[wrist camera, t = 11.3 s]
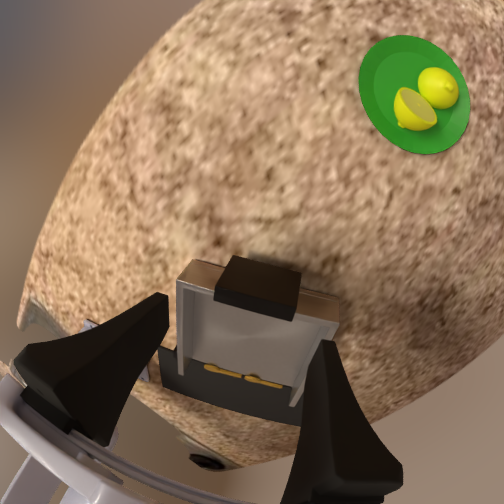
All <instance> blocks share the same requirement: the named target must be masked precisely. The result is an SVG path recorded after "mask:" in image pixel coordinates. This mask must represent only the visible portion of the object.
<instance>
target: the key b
mask: <svg viewBox="0 0 504 504" xmlns="http://www.w3.org/2000/svg"><path fill="white" fill-rule="evenodd" d="M244 379H245V380H247V381H250V382H254V383H260V384H264V385H268V386H272V387H276V388H282V387H283V385H279V384H275V383H271V382H267V381H263V380H261V379H258V378H255V377H251V376H245V378H244Z"/></svg>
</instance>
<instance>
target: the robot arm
mask: <svg viewBox="0 0 504 504" xmlns="http://www.w3.org/2000/svg"><path fill="white" fill-rule="evenodd" d="M84 325H85V326H84V327H83V328H82V329H81V330H80V331H79V333H78V334H75V335H72V336H68V337H65V338H61V339H57V340H52V341H47V342H40V343H33V344H28V345H27V346H26V347H25V348H24V349H23V350H22V351H21V353H20V354H19V355H18V356H17V357H16V358H15V359H14V365H15V367H16V369H17V370H18V372H19V374H20V375H21V377H22V378H23V379H24V381H25V382H26V384H27V387H26V388H25V389H24V387H23V386H22V385H21V384H20V383H19V382H18V381H16V380H15V379H14V378H13V377H12V376H11V375H10V374H9V373H7V374H6V375H5V376H4V377H3V379H2V380H1V381H0V424H1V426H2V427H3V428H4V429H5V430H6V431H7V432H8V433H9V434H10V435H11V436H12V437H13V438H14V439H15V440H16V441H17V442H18V443H19V444H20V445H21V446H22V447H23V448H24V449H25V450H26V451H27V452H28V453H29V455H28V457H27V458H26V460H25V461H24V463H23V465H22V466H21V468H20V469H19V471H18V472H17V474H16V476H15V477H14V479H13V481H12V482H11V484H10V486H9V487H8V489H7V491H6V492H5V494H4V496H3V498H2V499H1V501H0V504H48V503H49V502H50V500H51V498H52V496H53V495H54V493H55V491H56V490H57V488H58V486H59V485H60V483H61V482H62V481H63V482H64V483H66V484H67V485H68V486H69V488H68V490H67V491H66V493H65V495H64V497H63V498H62V500H61V502H60V504H162V503H160V502H157V501H155V500H152V499H150V498H148V497H145V496H143V495H141V494H139V493H136V492H134V491H132V490H130V489H128V488H126V487H124V486H122V485H123V480H121V479H120V478H118V477H117V476H115V475H114V474H113V473H112V472H111V471H110V470H109V469H107V468H105V467H104V466H102V465H101V463H103V464H105V465H107V466H109V467H110V468H112V469H115V470H116V471H118V472H120V473H122V474H124V475H126V476H128V477H130V478H132V479H134V480H136V481H138V482H140V483H143V484H145V485H147V486H149V487H151V488H154V489H156V490H159V491H161V492H164V493H166V494H169V495H171V496H174V497H177V498H179V499H182V500H185V501H188V502H191V503H194V504H255V503H249V502H245V501H240V500H236V499H232V498H228V497H224V496H220V495H217V494H213V493H210V492H206V491H203V490H200V489H197V488H194V487H191V486H188V485H185V484H182V483H179V482H177V481H174V480H171V479H169V478H166V477H164V476H161V475H159V474H157V473H154V472H152V471H150V470H147V469H145V468H143V467H141V466H138V465H136V464H134V463H132V462H130V461H128V460H126V459H124V458H122V457H120V456H118V455H116V454H115V453H113V452H112V450H113V448H114V447H115V445H116V442H117V439H118V428H117V426H116V424H117V421H118V419H119V417H120V414H121V412H122V409H123V407H124V405H125V402H126V401H127V398H128V396H129V394H130V392H131V390H132V388H133V386H134V384H135V382H136V381H137V379H138V378H139V379H141V380H143V381H146V382H149V380H150V379H149V374H148V369H147V364H148V362H149V361H150V359H151V358H152V356H153V355H154V353H155V352H156V350H157V349H158V347H159V346H160V344H161V343H162V341H163V339H164V337H165V335H166V333H167V330H168V328H169V302H168V295H165V294H162V293H159V292H156V293H155V294H153V295H151V296H149V297H148V298H146V299H145V300H143V301H141V302H140V303H138V304H137V305H135V306H133V307H132V308H130V309H128V310H127V311H125V312H123V313H121V314H120V315H118V316H116V317H114V318H112V319H110V320H108V321H107V322H105V323H103V324H100V325H96V324H94V323H92V322H90V321H88V320H84ZM402 485H403V468H402V464H401V463H400V462H399V461H398V460H397V459H396V458H395V457H394V456H393V455H392V454H391V453H390V452H389V450H388V449H387V448H386V447H385V445H384V444H383V443H382V442H381V440H380V439H379V438H378V436H377V434H376V433H375V432H374V430H373V429H372V427H371V426H370V424H369V422H368V421H367V419H366V417H365V416H364V414H363V412H362V410H361V408H360V406H359V404H358V402H357V400H356V398H355V396H354V393H353V391H352V389H351V386H350V384H349V381H348V379H347V376H346V373H345V371H344V368H343V365H342V362H341V359H340V356H339V353H338V349H337V346H336V343H335V341H330V340H326V339H321V341H320V343H319V345H318V347H317V349H316V351H315V353H314V355H313V357H312V359H311V361H310V363H309V365H308V369H307V374H306V380H305V385H304V397H303V409H302V421H301V430H300V436H299V440H298V445H297V449H296V453H295V458H294V461H293V465H292V469H291V472H290V476H289V479H288V482H287V485H286V488H285V491H284V494H283V497H282V500H281V502H280V504H380V503H383V502H384V495H387V494H389V493H391V492H393V491H396V490H398V489H399V488H400V487H401V486H402Z"/></svg>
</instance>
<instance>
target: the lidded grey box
mask: <svg viewBox="0 0 504 504" xmlns="http://www.w3.org/2000/svg"><path fill="white" fill-rule="evenodd" d="M301 276H302V273H301V272H297V271H293V270H289V269H285V268H281V267H278V266H274V265H270V264H266V263H262V262H258V261H254V260H251V259H247V258H243V257H239V256H235V255H233V256H232V258H231V259H230V261H229V263H228V264H227V266H226V268H222V267H219V266H215V265H211V264H208V263H204V262H201V261H197V260H193V259H192V261H191V262H190V263H189V264H188V265H187V267H186V268H185V269H184V270H183V272H182V273H181V274H180V275H179V277H178V278H177V279H176V327H177V357H178V374H180V375H183V376H184V374H185V372H186V370H187V368H188V366H189V364H190V362H191V360H192V359H195V360H198V361H201V362H204V363H207V364H210V365H213V366H216V367H219V368H223V369H226V370H229V371H233V372H236V373H240V374H243V375H247V376H251V377H255V378H258V379H262V380H266V381H270V382H274V383H278V384H282V385H286V386H291V387H292V389H291V395H290V401H289V406H291V407H295V405H296V403H297V402H298V400H299V398H300V397H301V395H302V393H303V392H304V385H305V380H306V374H307V369H308V365H309V363H310V361H311V359H312V357H313V355H314V353H315V351H316V349H317V347H318V345H319V343H320V341H321V339H326V340H330V341H331V340H332V338H333V336H334V334H335V332H336V330H337V329H338V327H339V325H340V312H339V298H338V297H334V296H330V295H326V294H322V293H318V292H314V291H310V290H306V289H302V288H300V283H301Z"/></svg>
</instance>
